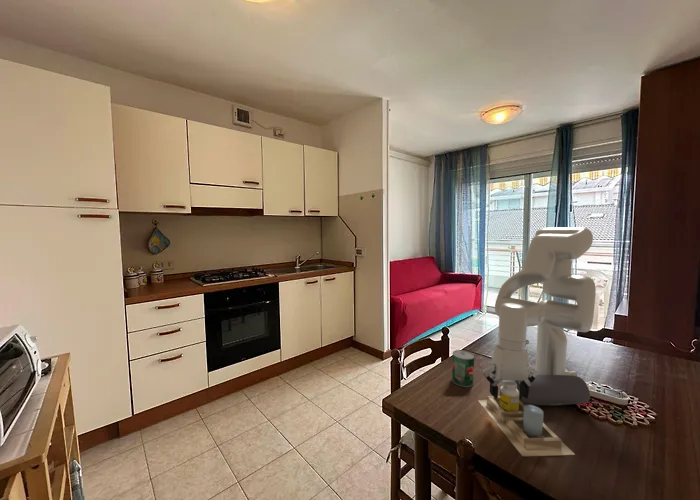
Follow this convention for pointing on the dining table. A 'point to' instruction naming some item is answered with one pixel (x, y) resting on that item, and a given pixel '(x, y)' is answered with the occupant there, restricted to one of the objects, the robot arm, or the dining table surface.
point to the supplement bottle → (509, 396)
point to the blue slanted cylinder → (532, 421)
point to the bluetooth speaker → (556, 390)
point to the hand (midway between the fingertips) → (508, 396)
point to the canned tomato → (463, 368)
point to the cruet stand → (514, 431)
